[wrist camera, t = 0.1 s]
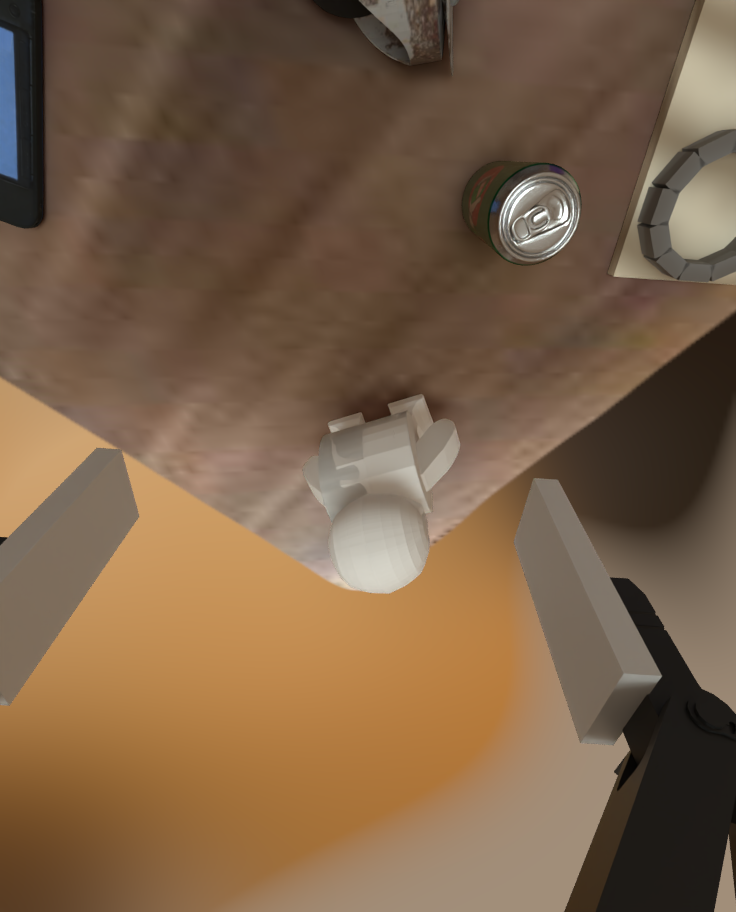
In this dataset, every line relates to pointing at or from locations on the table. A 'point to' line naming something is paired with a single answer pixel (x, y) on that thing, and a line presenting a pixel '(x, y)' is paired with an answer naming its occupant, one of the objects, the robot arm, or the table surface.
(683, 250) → the socket board
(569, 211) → the soda can
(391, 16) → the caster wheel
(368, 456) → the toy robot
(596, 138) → the table surface
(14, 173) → the handheld game console
